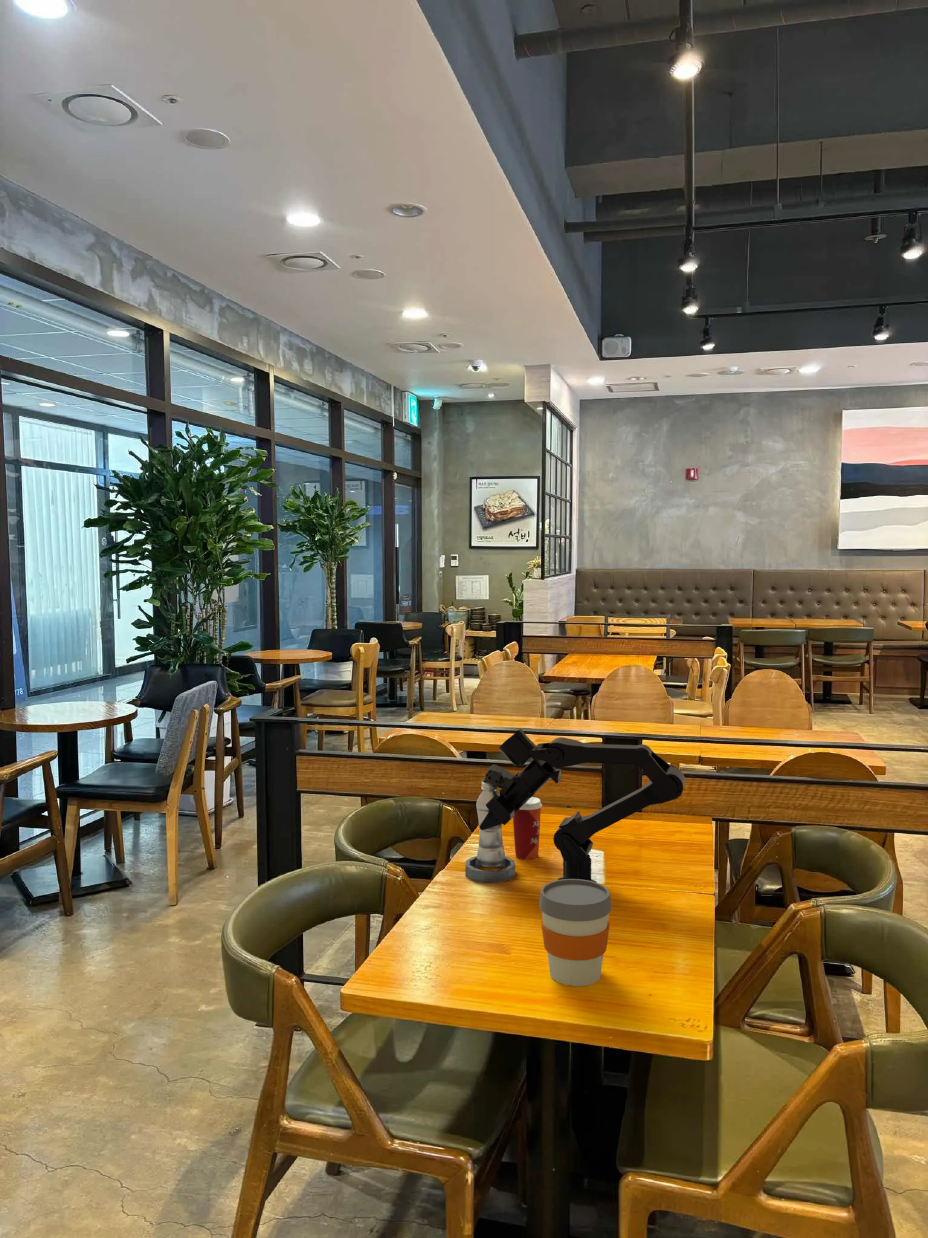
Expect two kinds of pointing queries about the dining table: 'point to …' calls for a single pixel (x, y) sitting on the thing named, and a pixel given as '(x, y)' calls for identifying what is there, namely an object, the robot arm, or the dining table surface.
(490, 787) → the plastic bottle
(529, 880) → the dining table surface
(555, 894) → the reusable coffee cup
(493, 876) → the collar
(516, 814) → the paper cup
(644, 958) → the dining table surface
